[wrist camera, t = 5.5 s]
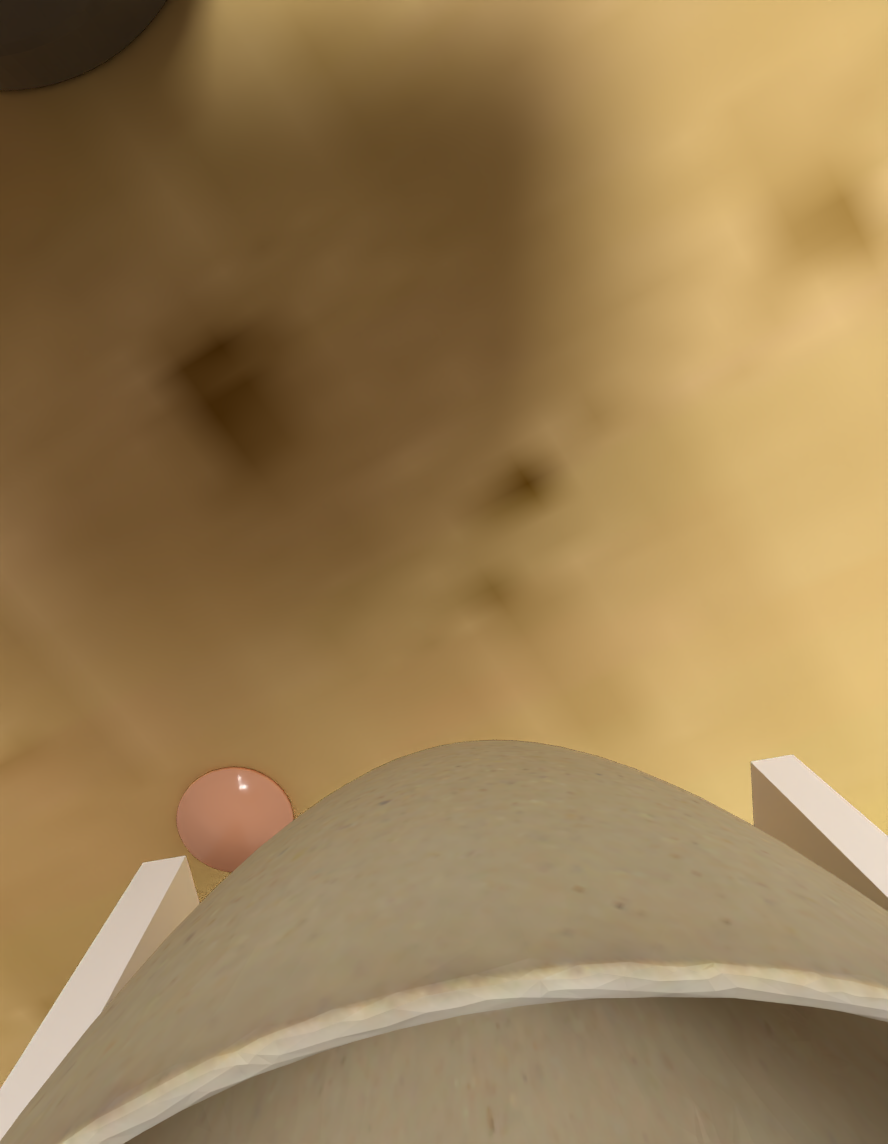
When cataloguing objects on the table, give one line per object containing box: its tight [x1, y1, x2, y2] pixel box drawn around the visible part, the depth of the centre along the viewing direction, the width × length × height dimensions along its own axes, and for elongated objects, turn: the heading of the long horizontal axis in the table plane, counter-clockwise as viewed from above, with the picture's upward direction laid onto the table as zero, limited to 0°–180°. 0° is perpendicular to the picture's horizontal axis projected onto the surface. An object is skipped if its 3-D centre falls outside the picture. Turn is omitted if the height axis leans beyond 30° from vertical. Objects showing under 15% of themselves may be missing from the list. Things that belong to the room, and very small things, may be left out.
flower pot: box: [0, 740, 888, 1144], centre depth 8 cm, size 10×10×7 cm
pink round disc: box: [177, 767, 294, 872], centre depth 28 cm, size 5×5×1 cm
